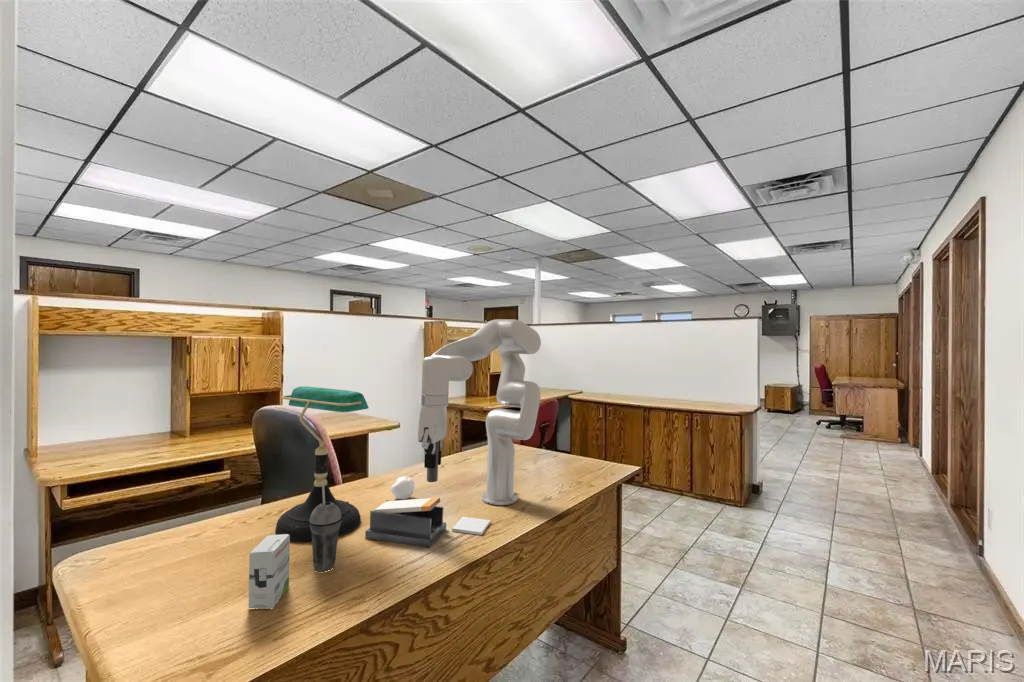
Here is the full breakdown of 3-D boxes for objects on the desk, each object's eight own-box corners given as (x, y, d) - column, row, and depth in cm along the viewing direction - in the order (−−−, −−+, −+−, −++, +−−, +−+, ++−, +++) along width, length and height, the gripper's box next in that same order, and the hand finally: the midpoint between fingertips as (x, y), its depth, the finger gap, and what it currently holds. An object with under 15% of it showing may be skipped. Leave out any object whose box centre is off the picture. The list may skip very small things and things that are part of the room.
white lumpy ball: (403, 493, 160) (403, 471, 160) (419, 497, 156) (419, 475, 156) (386, 499, 153) (387, 477, 153) (402, 504, 149) (403, 481, 149)
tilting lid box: (365, 538, 124) (366, 512, 124) (387, 521, 135) (387, 498, 135) (429, 547, 119) (429, 521, 119) (446, 529, 131) (446, 505, 131)
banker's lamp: (381, 519, 136) (385, 388, 136) (320, 551, 116) (325, 396, 115) (318, 504, 148) (322, 382, 148) (252, 530, 127) (256, 388, 127)
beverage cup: (347, 563, 109) (349, 482, 109) (325, 578, 103) (328, 491, 103) (323, 558, 112) (325, 478, 112) (300, 572, 105) (303, 487, 105)
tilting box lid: (374, 514, 126) (374, 509, 126) (387, 505, 133) (386, 501, 133) (430, 510, 122) (429, 506, 122) (440, 501, 129) (439, 497, 129)
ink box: (266, 587, 98) (268, 533, 98) (289, 586, 99) (291, 533, 99) (246, 611, 90) (248, 552, 90) (272, 610, 90) (273, 551, 90)
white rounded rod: (429, 478, 127) (430, 436, 127) (439, 479, 127) (440, 437, 127) (424, 481, 124) (426, 438, 124) (434, 482, 124) (436, 439, 124)
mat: (462, 519, 139) (462, 516, 139) (490, 522, 137) (490, 520, 137) (451, 531, 130) (452, 528, 130) (481, 535, 128) (481, 532, 128)
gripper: (434, 396, 134) (432, 457, 134) (409, 403, 118) (407, 472, 118) (457, 398, 133) (455, 460, 133) (435, 405, 117) (433, 475, 117)
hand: (432, 465), depth 125 cm, fingers closed on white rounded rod, 3 cm apart
